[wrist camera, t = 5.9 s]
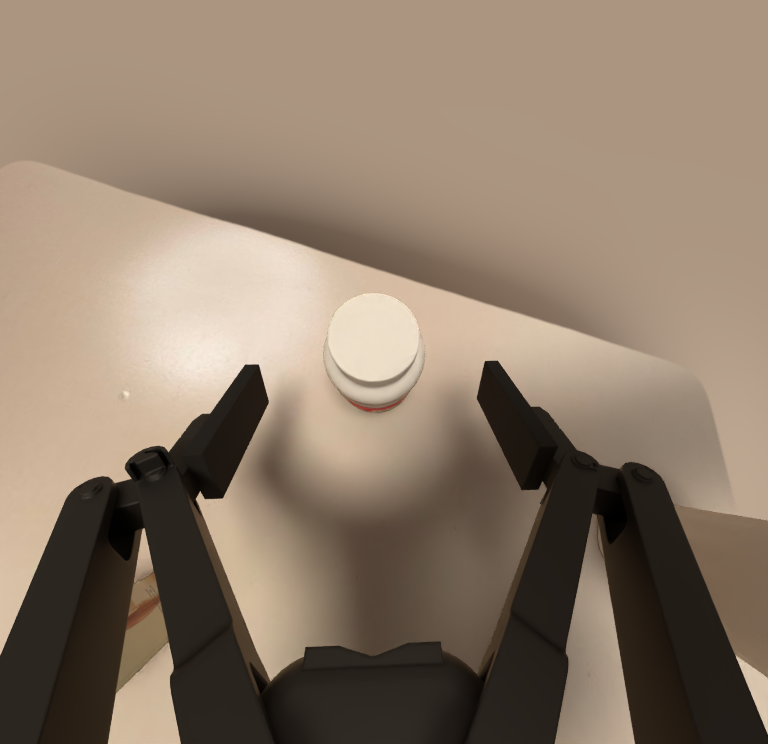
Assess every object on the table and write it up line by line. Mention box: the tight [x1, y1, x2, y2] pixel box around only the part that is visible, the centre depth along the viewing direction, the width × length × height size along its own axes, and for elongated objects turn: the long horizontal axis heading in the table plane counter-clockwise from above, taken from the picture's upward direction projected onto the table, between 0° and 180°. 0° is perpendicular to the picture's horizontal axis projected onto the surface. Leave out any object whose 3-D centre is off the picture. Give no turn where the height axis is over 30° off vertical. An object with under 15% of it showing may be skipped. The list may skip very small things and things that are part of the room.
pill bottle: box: [323, 293, 425, 413], centre depth 20 cm, size 6×6×11 cm
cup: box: [598, 505, 768, 678], centre depth 17 cm, size 8×8×12 cm
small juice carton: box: [116, 573, 169, 693], centre depth 16 cm, size 5×4×10 cm
